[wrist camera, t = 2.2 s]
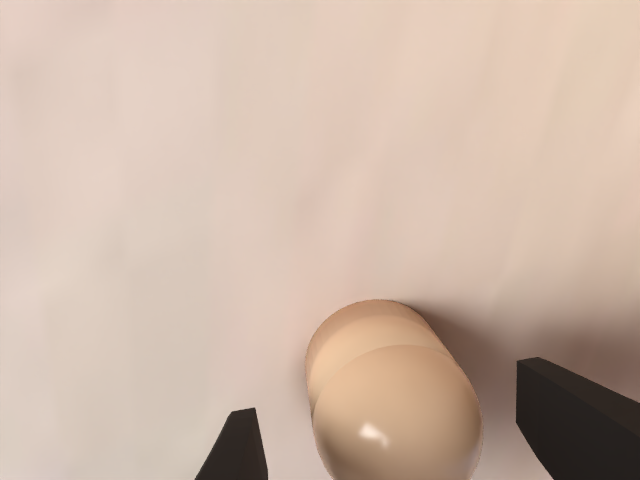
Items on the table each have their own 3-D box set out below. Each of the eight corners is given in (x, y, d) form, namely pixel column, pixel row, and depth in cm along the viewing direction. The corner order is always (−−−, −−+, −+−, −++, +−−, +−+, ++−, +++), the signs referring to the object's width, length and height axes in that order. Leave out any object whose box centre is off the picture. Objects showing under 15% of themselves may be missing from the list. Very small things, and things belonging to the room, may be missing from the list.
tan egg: (433, 289, 14) (520, 382, 9) (439, 404, 15) (518, 542, 10) (296, 311, 13) (309, 421, 8) (314, 427, 15) (334, 579, 10)
